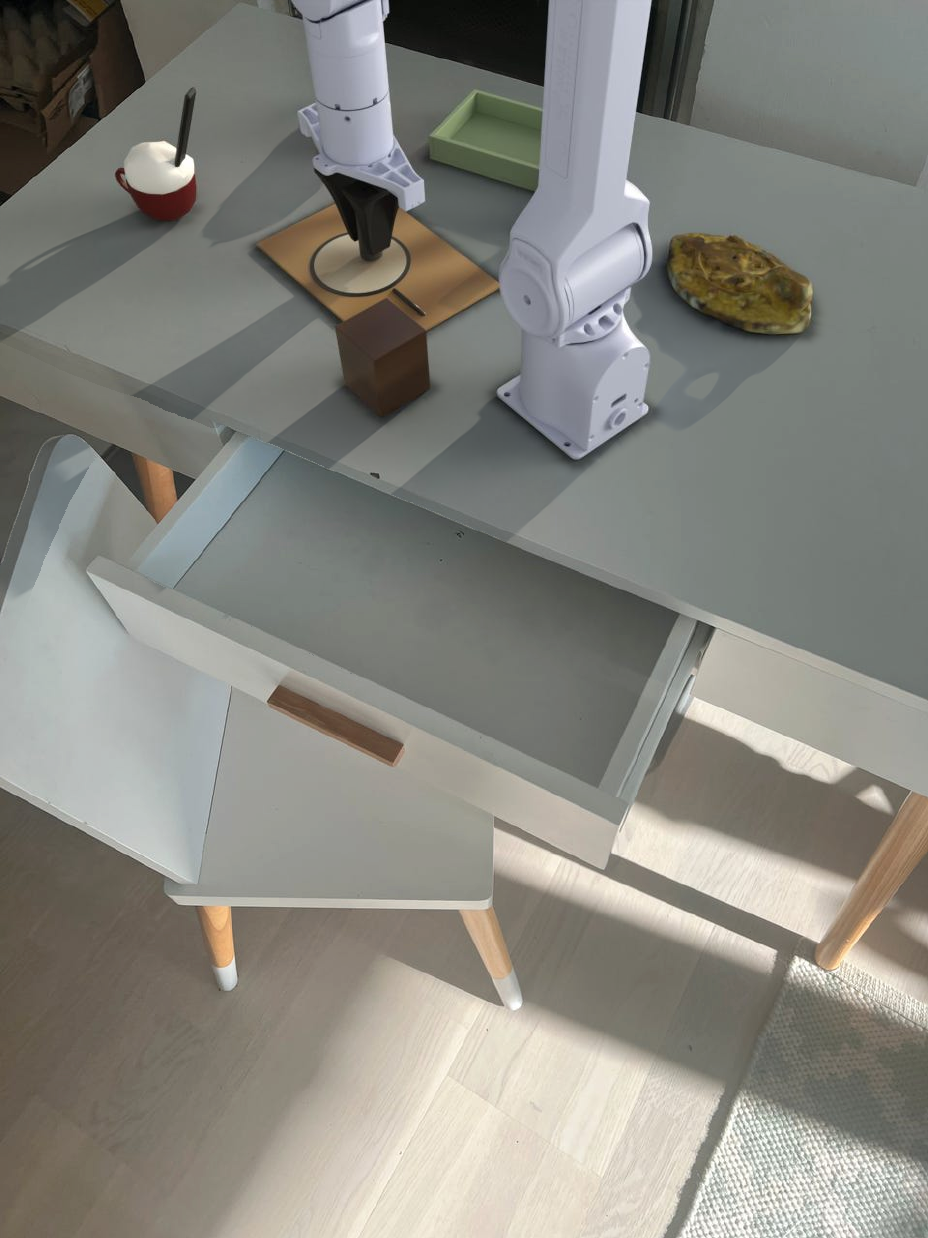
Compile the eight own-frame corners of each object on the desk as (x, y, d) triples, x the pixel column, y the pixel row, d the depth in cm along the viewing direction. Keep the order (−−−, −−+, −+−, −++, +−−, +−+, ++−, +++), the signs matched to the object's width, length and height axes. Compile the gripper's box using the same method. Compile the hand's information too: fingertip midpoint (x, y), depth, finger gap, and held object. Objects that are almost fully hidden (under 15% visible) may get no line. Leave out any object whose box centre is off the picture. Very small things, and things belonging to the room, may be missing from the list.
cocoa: (115, 210, 94) (69, 84, 84) (163, 177, 97) (125, 51, 87) (186, 247, 91) (147, 121, 81) (234, 212, 94) (202, 85, 84)
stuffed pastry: (633, 283, 88) (773, 365, 82) (635, 240, 84) (782, 322, 78) (701, 224, 91) (842, 300, 85) (706, 180, 87) (855, 256, 81)
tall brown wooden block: (430, 388, 81) (426, 329, 76) (381, 418, 79) (373, 360, 74) (393, 355, 83) (386, 296, 78) (344, 384, 81) (334, 326, 76)
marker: (387, 254, 89) (381, 194, 84) (369, 264, 88) (361, 204, 83) (373, 243, 90) (366, 182, 85) (354, 253, 89) (346, 192, 84)
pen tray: (609, 151, 97) (611, 127, 95) (568, 202, 93) (570, 178, 91) (474, 111, 102) (474, 88, 100) (429, 158, 97) (428, 135, 95)
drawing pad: (501, 287, 87) (501, 281, 87) (382, 356, 83) (382, 351, 82) (370, 187, 95) (370, 182, 95) (256, 246, 91) (255, 241, 90)
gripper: (255, 70, 78) (286, 222, 90) (366, 152, 72) (383, 303, 84) (329, 38, 81) (349, 190, 92) (442, 114, 74) (449, 267, 86)
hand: (370, 242), depth 88 cm, fingers closed on marker, 2 cm apart
